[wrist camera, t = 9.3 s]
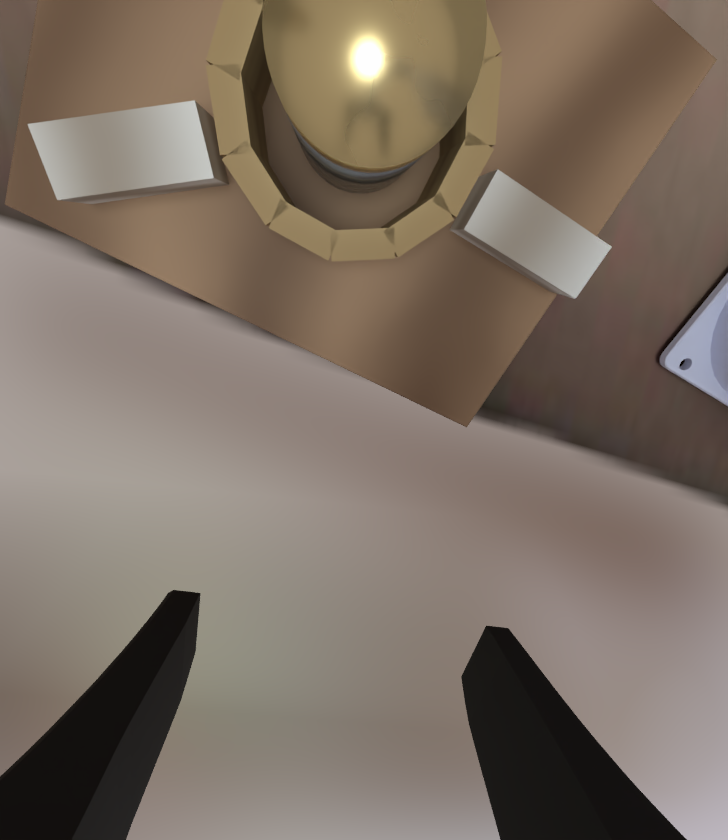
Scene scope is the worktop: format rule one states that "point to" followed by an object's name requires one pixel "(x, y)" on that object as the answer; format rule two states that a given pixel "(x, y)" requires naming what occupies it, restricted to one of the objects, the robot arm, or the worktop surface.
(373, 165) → the cylinder
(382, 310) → the shaft board
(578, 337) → the worktop surface
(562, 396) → the worktop surface
